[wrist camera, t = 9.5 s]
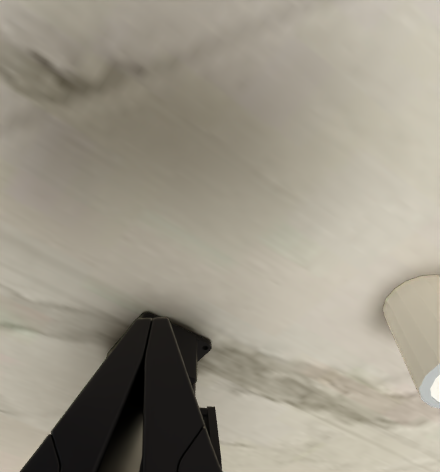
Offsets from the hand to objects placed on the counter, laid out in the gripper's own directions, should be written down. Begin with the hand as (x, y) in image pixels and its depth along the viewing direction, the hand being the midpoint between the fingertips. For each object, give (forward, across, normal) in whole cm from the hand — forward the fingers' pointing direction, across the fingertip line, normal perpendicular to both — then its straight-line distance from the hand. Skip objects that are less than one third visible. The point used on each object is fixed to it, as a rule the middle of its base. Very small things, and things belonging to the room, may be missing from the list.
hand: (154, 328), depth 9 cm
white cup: (+13, -18, +12) cm, 26 cm away
